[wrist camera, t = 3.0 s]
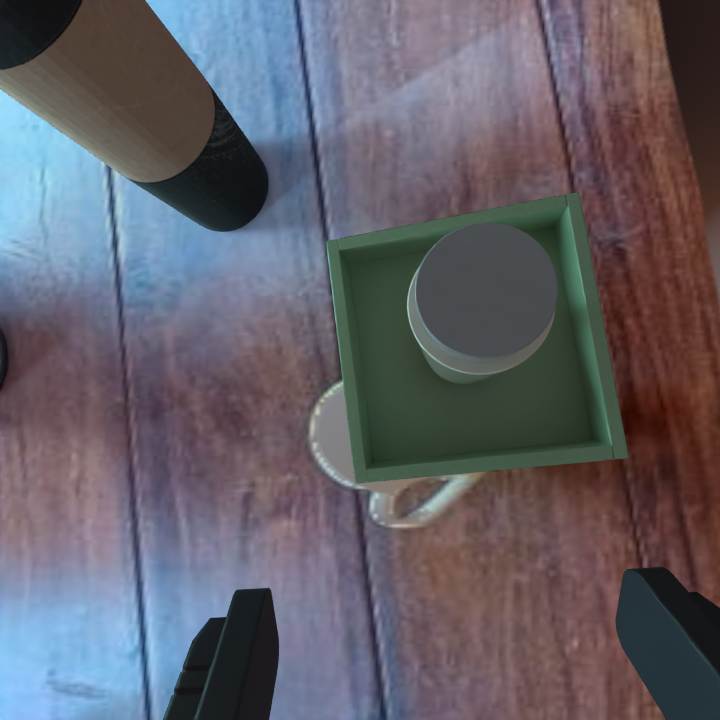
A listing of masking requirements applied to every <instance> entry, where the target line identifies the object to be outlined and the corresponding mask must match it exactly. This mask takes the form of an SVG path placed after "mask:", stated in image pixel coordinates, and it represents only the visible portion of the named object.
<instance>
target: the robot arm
mask: <svg viewBox="0 0 720 720" xmlns="http://www.w3.org/2000/svg"><path fill="white" fill-rule="evenodd" d="M6 361H7V353H6V345H5V341H4V338H3V335H2V333H1V331H0V386H1V383H2V381H3V378H4V374H5V370H6ZM616 629H617V634H618V637H619V640H620V643H621V645H622V648H623V650H624V651H625V653H626V655H627V656H628V658H629V660H630V661H631V663H632V665H633V666H634V668H635V669H636V671H637V673H638V674H639V676H640V677H641V679H642V681H643V682H644V684H645V686H646V687H647V689H648V690H649V692H650V694H651V695H652V697H653V699H654V700H655V702H656V703H657V705H658V707H659V708H660V710H661V712H662V713H663V715H664V716H665V718H666V720H720V608H719V607H718V606H716V605H715V604H713V603H712V602H710V601H709V600H708V599H706V598H705V597H703V596H702V595H700V594H699V593H698V592H690V593H689V592H688V591H687V590H686V589H685V588H684V587H683V585H682V584H681V583H680V582H679V581H678V580H677V579H676V577H675V576H674V575H673V574H672V573H671V572H670V571H669V570H667V569H666V568H663V567H654V568H637V569H627V570H626V571H625V572H624V574H623V579H622V585H621V590H620V596H619V602H618V608H617V614H616ZM278 659H279V638H278V631H277V624H276V618H275V612H274V606H273V599H272V593H271V590H270V588H261V589H243V590H236V591H235V593H234V595H233V598H232V601H231V604H230V607H229V610H228V613H227V617H220V618H210V619H209V620H208V622H207V623H206V624H205V625H204V627H203V628H202V629H201V631H200V632H199V633H198V634H197V636H196V637H195V638H194V640H193V641H192V644H191V646H190V649H189V652H188V654H187V657H186V659H185V662H184V665H183V671H182V672H181V673H180V675H179V678H178V681H177V683H176V686H175V689H174V695H172V697H171V699H170V702H169V705H168V707H167V710H166V713H165V715H164V718H163V720H269V717H270V711H271V705H272V699H273V693H274V687H275V681H276V675H277V669H278Z"/></svg>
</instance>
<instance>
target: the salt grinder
mask: <svg viewBox="0 0 720 720" xmlns="http://www.w3.org/2000/svg"><path fill="white" fill-rule="evenodd" d="M557 299H558V279H557V275H556V270H555V268H554V265H553V263H552V260H551V259H550V257H549V255H548V253H547V252H546V251H545V249H544V248H543V247H542V246H541V245H540V244H539V243H538V242H537V241H536V240H535V239H534V238H533V237H531V236H530V235H529V234H527V233H525V232H523V231H522V230H520V229H517V228H515V227H512V226H509V225H505V224H501V223H493V222H483V223H475V224H471V225H467V226H463V227H461V228H458V229H456V230H454V231H452V232H450V233H448V234H447V235H446V236H444V237H443V238H441V239H440V240H439V241H438V242H437V243H436V244H434V246H433V247H432V248H431V249H430V250H429V251H428V253H427V254H426V256H425V257H424V259H423V261H422V263H421V265H420V266H419V268H418V269H417V271H416V273H415V275H414V277H413V279H412V282H411V285H410V288H409V293H408V300H407V310H408V318H409V323H410V326H411V329H412V331H413V334H414V336H415V338H416V340H417V342H418V344H419V346H420V348H421V350H422V352H423V354H424V356H425V358H426V361H427V363H428V365H429V366H430V368H431V369H432V370H433V372H434V373H435V374H436V375H438V376H439V377H440V378H442V379H443V380H445V381H447V382H450V383H453V384H458V385H469V384H474V383H477V382H480V381H482V380H485V379H487V378H489V377H492V376H494V375H497V374H499V373H501V372H504V371H506V370H509V369H511V368H513V367H515V366H517V365H519V364H520V363H522V362H524V361H525V360H527V359H528V358H529V357H530V356H531V355H533V354H534V353H535V352H536V350H537V349H538V348H539V347H540V346H541V345H542V343H543V342H544V340H545V339H546V337H547V335H548V333H549V331H550V329H551V326H552V323H553V320H554V315H555V308H556V304H557Z"/></svg>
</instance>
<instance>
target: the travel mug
mask: <svg viewBox="0 0 720 720" xmlns="http://www.w3.org/2000/svg"><path fill="white" fill-rule="evenodd" d="M0 90H2V91H3V92H5V93H6V94H8V95H9V96H10V97H12V98H13V99H15V100H16V101H18V102H19V103H20V104H22V105H23V106H25V107H26V108H27V109H29V110H30V111H32V112H33V113H35V114H36V115H37V116H39V117H40V118H42V119H43V120H44V121H46V122H47V123H49V124H50V125H52V126H53V127H54V128H56V129H57V130H59V131H60V132H62V133H63V134H64V135H66V136H67V137H69V138H70V139H71V140H73V141H74V142H76V143H77V144H79V145H80V146H81V147H83V148H84V149H86V150H87V151H88V152H90V153H91V154H93V155H94V156H96V157H97V158H98V159H100V160H101V161H103V162H104V163H106V164H107V165H108V166H110V167H111V168H113V169H114V170H115V171H117V172H118V173H120V174H121V175H123V176H124V177H126V178H127V179H129V180H130V181H132V182H133V183H135V184H137V185H138V186H140V187H141V188H143V189H144V190H146V191H148V192H149V193H151V194H152V195H154V196H155V197H157V198H159V199H160V200H162V201H163V202H165V203H166V204H168V205H170V206H171V207H173V208H174V209H176V210H177V211H179V212H180V213H182V214H184V215H185V216H187V217H188V218H190V219H191V220H193V221H195V222H196V223H198V224H200V225H201V226H203V227H205V228H207V229H210V230H214V231H223V232H225V231H232V230H235V229H238V228H240V227H242V226H244V225H246V224H247V223H249V222H250V221H251V220H252V219H253V218H254V217H255V216H256V215H257V214H258V213H259V211H260V210H261V208H262V206H263V205H264V203H265V200H266V197H267V193H268V174H267V171H266V168H265V165H264V163H263V162H262V160H261V158H260V157H259V155H258V154H257V152H256V151H255V149H254V148H253V146H252V145H251V143H250V142H249V140H248V139H247V138H246V136H245V135H244V133H243V132H242V130H241V129H240V128H239V126H238V125H237V123H236V122H235V120H234V119H233V118H232V116H231V115H230V113H229V112H228V110H227V109H226V108H225V106H224V105H223V103H222V102H221V100H220V99H219V98H218V96H217V95H216V93H215V92H214V90H213V89H212V88H211V86H210V85H209V83H208V82H207V81H206V79H205V78H204V76H203V75H202V74H201V72H200V71H199V70H198V68H197V67H196V66H195V65H194V63H193V62H192V61H191V59H190V58H189V57H188V55H187V54H186V53H185V52H184V50H183V49H182V48H181V46H180V45H179V44H178V42H177V41H176V40H175V39H174V37H173V36H172V35H171V33H170V32H169V31H168V29H167V28H166V27H165V26H164V24H163V23H162V22H161V20H160V19H159V18H158V16H157V15H156V14H155V13H154V11H153V10H152V9H151V7H150V6H149V5H148V3H147V2H146V1H145V0H0Z"/></svg>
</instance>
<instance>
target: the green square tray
mask: <svg viewBox="0 0 720 720" xmlns="http://www.w3.org/2000/svg"><path fill="white" fill-rule="evenodd" d="M483 222H493V223H501V224H505V225H509V226H512V227H515V228H517V229H520V230H522V231H523V232H525V233H527V234H529V235H530V236H531V237H533V238H534V239H535V240H536V241H537V242H538V243H539V244H540V245H541V246H542V247H543V248H544V249H545V251H546V252H547V253H548V255H549V257H550V259H551V260H552V263H553V265H554V268H555V270H556V275H557V279H558V299H557V304H556V308H555V315H554V320H553V323H552V326H551V329H550V331H549V333H548V335H547V337H546V339H545V340H544V342H543V343H542V345H541V346H540V347H539V348H538V349H537V350H536V352H535V353H534V354H533V355H531V356H530V357H529V358H528V359H527V360H525V361H524V362H522V363H520V364H519V365H517V366H515V367H513V368H511V369H509V370H506V371H504V372H501V373H499V374H497V375H494V376H492V377H489V378H487V379H485V380H482V381H480V382H477V383H474V384H469V385H458V384H453V383H450V382H447V381H445V380H443V379H442V378H440V377H439V376H438V375H436V374H435V373H434V372H433V370H432V369H431V368H430V366H429V365H428V363H427V361H426V358H425V356H424V354H423V352H422V350H421V348H420V346H419V344H418V342H417V340H416V338H415V336H414V334H413V331H412V329H411V326H410V323H409V318H408V310H407V300H408V293H409V288H410V285H411V282H412V279H413V277H414V275H415V273H416V271H417V269H418V268H419V266H420V265H421V263H422V261H423V259H424V257H425V256H426V254H427V253H428V251H429V250H430V249H431V248H432V247H433V246H434V244H436V243H437V242H438V241H439V240H440V239H441V238H443V237H444V236H446V235H447V234H448V233H450V232H452V231H454V230H456V229H458V228H461V227H463V226H467V225H471V224H475V223H483ZM326 243H327V252H328V260H329V268H330V277H331V285H332V293H333V302H334V310H335V318H336V327H337V335H338V344H339V352H340V360H341V369H342V377H343V385H344V394H345V402H346V410H347V419H348V427H349V435H350V444H351V452H352V461H353V468H354V477H355V483H365V482H375V481H386V480H398V479H408V478H419V477H430V476H441V475H452V474H462V473H473V472H484V471H495V470H505V469H516V468H527V467H538V466H548V465H559V464H570V463H581V462H591V461H602V460H613V459H623V458H628V457H629V456H628V450H627V445H626V440H625V434H624V429H623V424H622V418H621V413H620V407H619V402H618V397H617V391H616V386H615V381H614V375H613V370H612V365H611V359H610V354H609V348H608V343H607V338H606V332H605V327H604V322H603V316H602V311H601V305H600V300H599V295H598V289H597V284H596V279H595V273H594V268H593V263H592V257H591V252H590V246H589V241H588V236H587V230H586V225H585V220H584V214H583V209H582V204H581V198H580V193H579V192H576V193H571V194H566V195H560V196H554V197H549V198H544V199H539V200H534V201H529V202H524V203H519V204H514V205H508V206H503V207H498V208H493V209H488V210H483V211H478V212H473V213H468V214H463V215H457V216H452V217H447V218H442V219H437V220H432V221H427V222H422V223H417V224H411V225H406V226H401V227H396V228H391V229H386V230H381V231H376V232H371V233H365V234H360V235H355V236H350V237H345V238H340V239H335V240H330V241H327V242H326Z"/></svg>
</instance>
